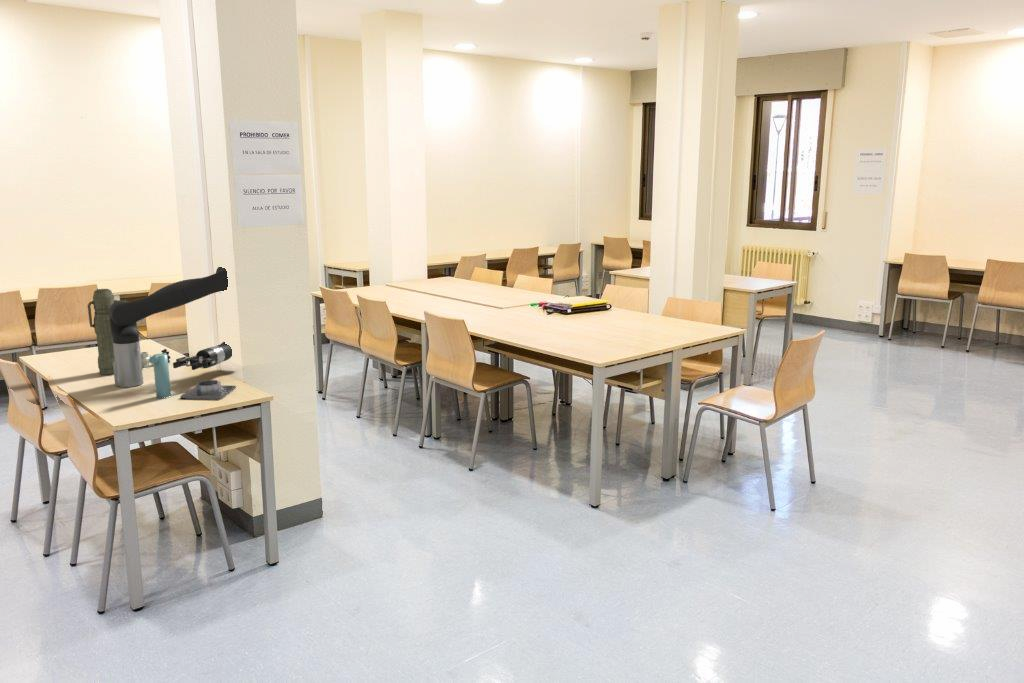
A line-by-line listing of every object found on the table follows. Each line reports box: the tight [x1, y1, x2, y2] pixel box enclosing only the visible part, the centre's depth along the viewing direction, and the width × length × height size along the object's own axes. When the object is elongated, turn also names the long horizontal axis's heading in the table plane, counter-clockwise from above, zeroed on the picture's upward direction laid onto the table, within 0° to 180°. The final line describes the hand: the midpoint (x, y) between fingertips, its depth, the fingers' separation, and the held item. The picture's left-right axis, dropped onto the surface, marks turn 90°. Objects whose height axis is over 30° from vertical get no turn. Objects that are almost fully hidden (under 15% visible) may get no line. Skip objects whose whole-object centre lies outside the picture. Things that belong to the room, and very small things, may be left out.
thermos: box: [87, 288, 118, 376], centre depth 319 cm, size 9×12×35 cm
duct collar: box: [179, 379, 237, 400], centre depth 293 cm, size 15×15×4 cm
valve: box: [140, 348, 171, 369], centre depth 334 cm, size 7×7×12 cm
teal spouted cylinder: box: [149, 353, 172, 399], centre depth 287 cm, size 7×5×16 cm
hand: (183, 366), depth 298 cm, fingers open, 8 cm apart
